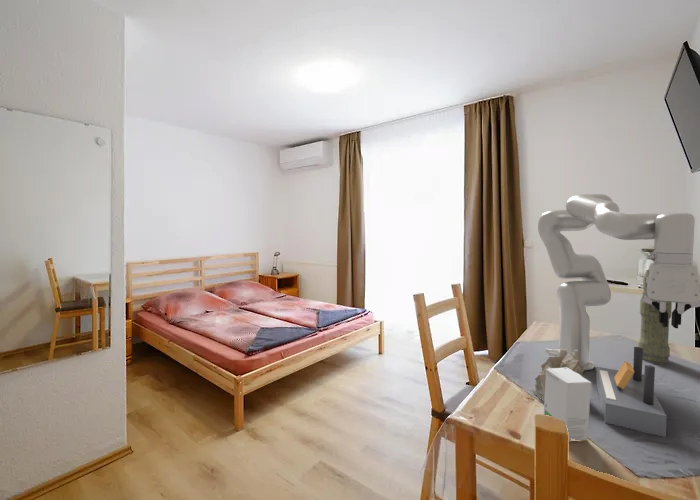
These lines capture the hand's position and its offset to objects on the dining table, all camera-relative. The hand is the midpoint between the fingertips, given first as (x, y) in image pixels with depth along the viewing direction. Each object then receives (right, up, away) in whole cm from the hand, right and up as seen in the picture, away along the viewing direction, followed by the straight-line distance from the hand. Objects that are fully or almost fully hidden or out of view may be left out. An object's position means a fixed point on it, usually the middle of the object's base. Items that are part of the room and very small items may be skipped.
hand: (669, 325), depth 90 cm
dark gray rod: (-8, -20, -2) cm, 22 cm away
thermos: (+30, -22, +37) cm, 53 cm away
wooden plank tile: (-8, -19, +7) cm, 22 cm away
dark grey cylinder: (0, -19, +10) cm, 22 cm away
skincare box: (-31, -27, -5) cm, 42 cm away
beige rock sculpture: (-21, -25, +16) cm, 37 cm away
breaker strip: (-6, -25, +6) cm, 27 cm away
